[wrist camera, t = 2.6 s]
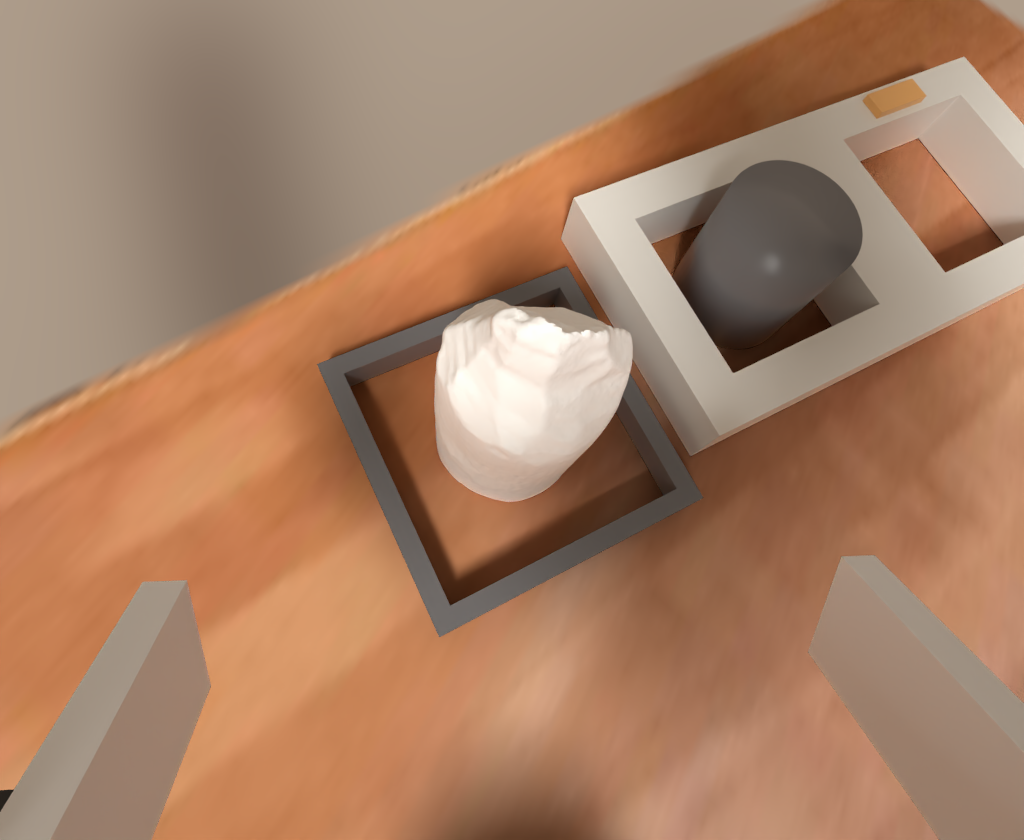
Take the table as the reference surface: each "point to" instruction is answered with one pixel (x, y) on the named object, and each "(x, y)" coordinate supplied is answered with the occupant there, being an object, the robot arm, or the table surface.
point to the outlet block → (799, 248)
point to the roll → (524, 394)
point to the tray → (444, 617)
